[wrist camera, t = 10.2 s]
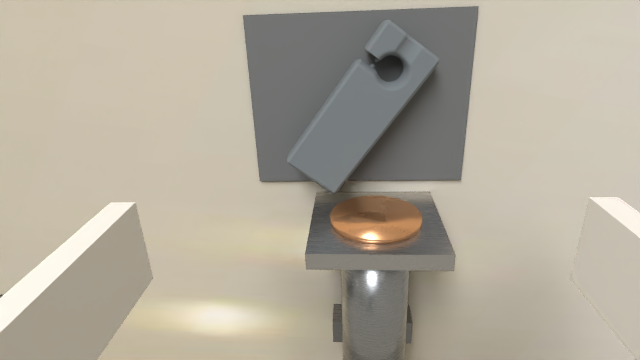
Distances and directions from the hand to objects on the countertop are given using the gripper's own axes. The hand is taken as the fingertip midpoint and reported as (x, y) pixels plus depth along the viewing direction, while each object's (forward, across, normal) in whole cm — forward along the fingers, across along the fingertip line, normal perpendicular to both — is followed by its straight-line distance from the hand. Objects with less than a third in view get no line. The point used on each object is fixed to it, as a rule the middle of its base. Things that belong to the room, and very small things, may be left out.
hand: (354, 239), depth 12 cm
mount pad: (+16, +1, 0) cm, 16 cm away
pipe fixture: (+16, +2, -13) cm, 21 cm away
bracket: (+18, -4, -2) cm, 18 cm away
